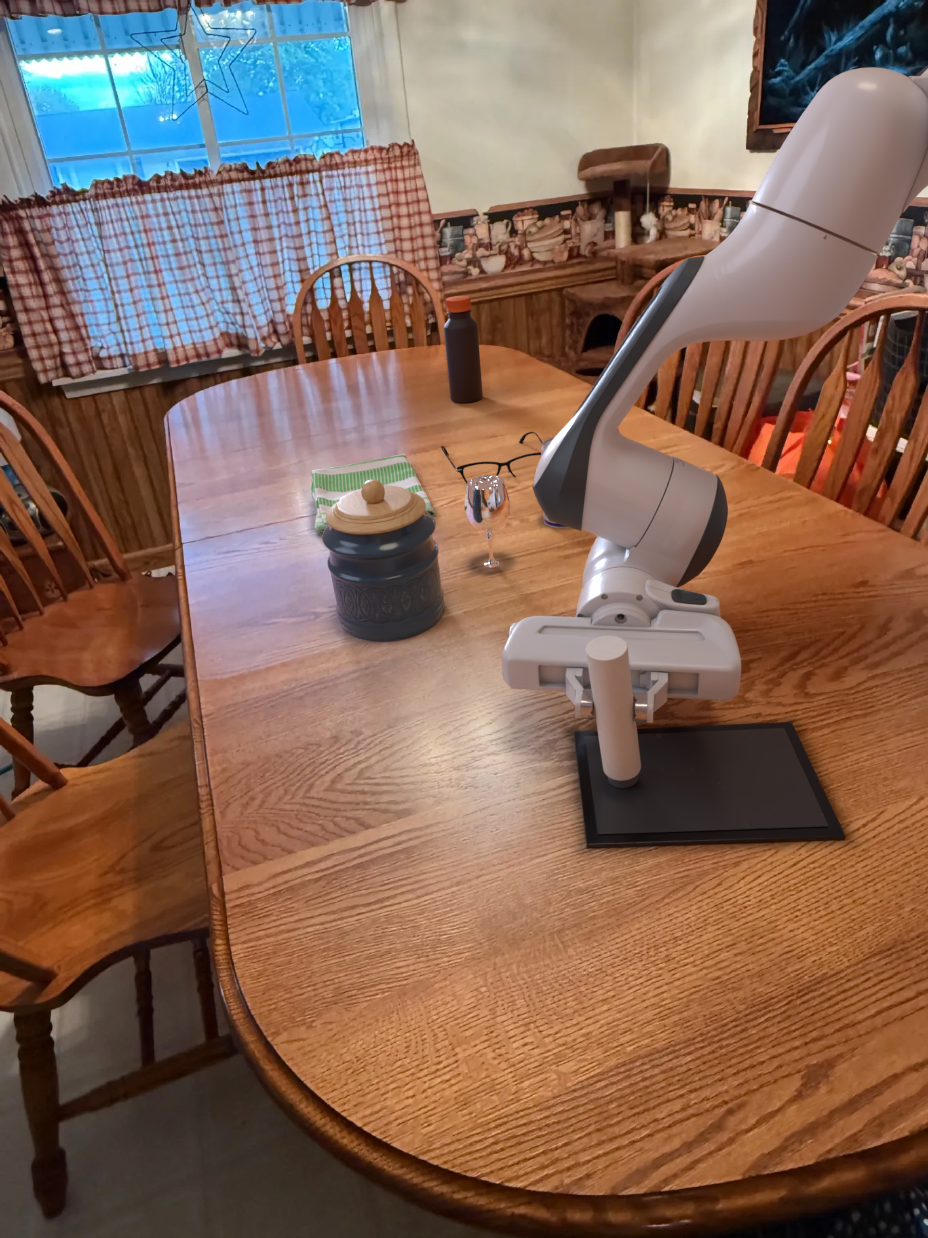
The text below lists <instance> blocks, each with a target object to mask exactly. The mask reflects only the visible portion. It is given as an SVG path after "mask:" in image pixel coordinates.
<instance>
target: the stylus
mask: <svg viewBox="0 0 928 1238" xmlns="http://www.w3.org/2000/svg"><path fill="white" fill-rule="evenodd" d="M586 655H587V662H588V669H589V675H590V682H591V689H592V696H593V703H594V716H595V722H596V730H598V737H599V744H600V750H601V757H602V764H603V770H604V773H605V774H606V775H607V776H608V780H609V782H610V783H611V784H612V785H613V786H615V787H618V788H628V787H631V786H633V785H634V784H635V783H636V782H637V781H638V778H639V775H638V773H639V772H640V769H641V761H640V752H639V743H638V735H637V729H638V727H637V722H635V701H634V696H633V690H632V681H631V672H630V663H629V654H628V645H627V643H626V642H625V641H624V640H623V639H622V638H620V637H616V636H602V637H598V638H596V639H594V640H592V641H591V642H590V643H589V644H588V645H587V647H586Z"/></svg>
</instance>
